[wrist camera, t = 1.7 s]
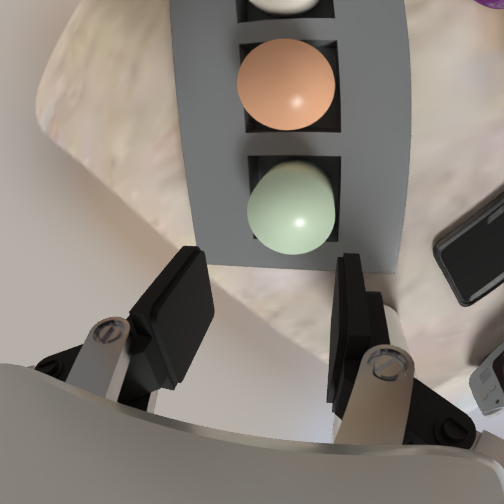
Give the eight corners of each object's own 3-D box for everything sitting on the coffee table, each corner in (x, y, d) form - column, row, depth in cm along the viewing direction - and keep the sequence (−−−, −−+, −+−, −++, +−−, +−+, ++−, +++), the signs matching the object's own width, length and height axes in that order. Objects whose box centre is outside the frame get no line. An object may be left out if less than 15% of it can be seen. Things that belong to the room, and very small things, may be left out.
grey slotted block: (191, -39, 15) (168, -57, 11) (379, -51, 12) (387, -74, 8) (216, 239, 26) (199, 263, 23) (386, 246, 23) (394, 273, 20)
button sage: (257, 158, 19) (243, 172, 16) (334, 158, 18) (336, 173, 15) (262, 226, 21) (250, 252, 18) (332, 229, 20) (333, 256, 17)
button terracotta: (250, 51, 16) (233, 43, 13) (330, 48, 15) (331, 37, 12) (255, 124, 18) (240, 131, 15) (333, 124, 17) (336, 130, 14)
